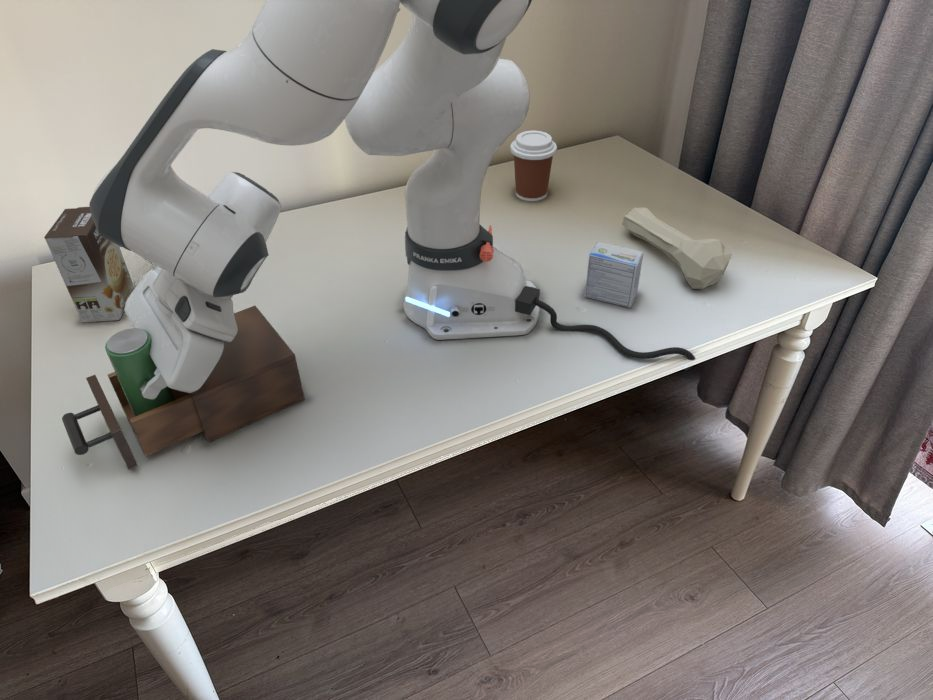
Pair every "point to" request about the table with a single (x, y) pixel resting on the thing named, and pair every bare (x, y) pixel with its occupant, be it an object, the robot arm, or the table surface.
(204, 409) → the cabinet
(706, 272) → the faceted club
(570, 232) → the table surface
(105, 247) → the coffee box
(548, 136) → the coffee cup
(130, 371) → the green can
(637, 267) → the medicine box
